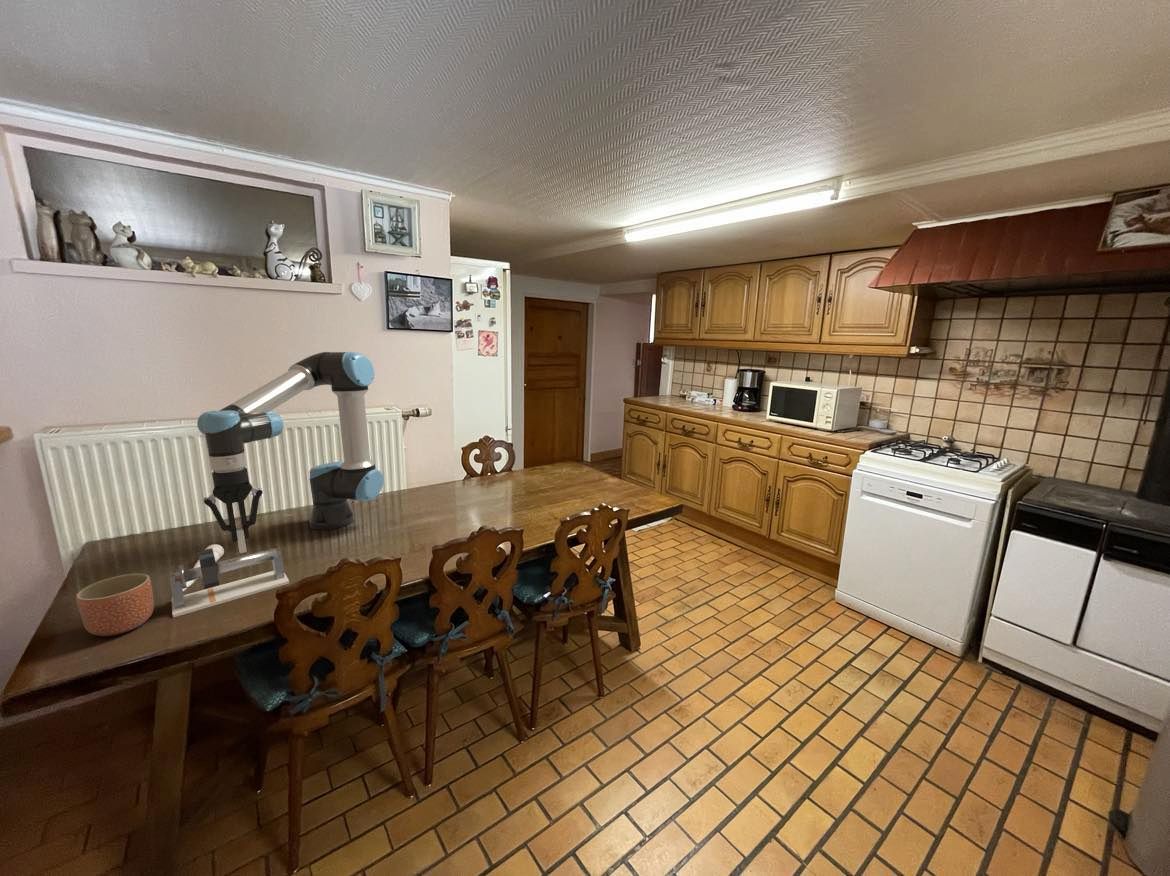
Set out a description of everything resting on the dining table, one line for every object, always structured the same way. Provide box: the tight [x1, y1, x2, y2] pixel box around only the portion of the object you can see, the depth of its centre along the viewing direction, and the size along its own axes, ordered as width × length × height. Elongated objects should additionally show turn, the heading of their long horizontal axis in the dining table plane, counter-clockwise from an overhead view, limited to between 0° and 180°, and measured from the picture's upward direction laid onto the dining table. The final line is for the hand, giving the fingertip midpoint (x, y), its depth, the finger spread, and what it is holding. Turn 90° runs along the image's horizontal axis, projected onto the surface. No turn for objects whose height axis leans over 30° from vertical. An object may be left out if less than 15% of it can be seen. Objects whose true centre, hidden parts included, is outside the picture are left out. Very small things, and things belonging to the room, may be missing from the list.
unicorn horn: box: [183, 543, 225, 592], centre depth 135 cm, size 5×24×5 cm, turn 15°
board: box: [171, 570, 290, 618], centre depth 126 cm, size 10×25×1 cm, turn 133°
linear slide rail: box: [169, 547, 285, 609], centre depth 125 cm, size 6×24×11 cm, turn 133°
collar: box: [197, 548, 220, 590], centre depth 121 cm, size 7×3×8 cm, turn 43°
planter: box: [75, 572, 155, 637], centre depth 109 cm, size 12×12×11 cm
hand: (242, 550), depth 126 cm, fingers closed
